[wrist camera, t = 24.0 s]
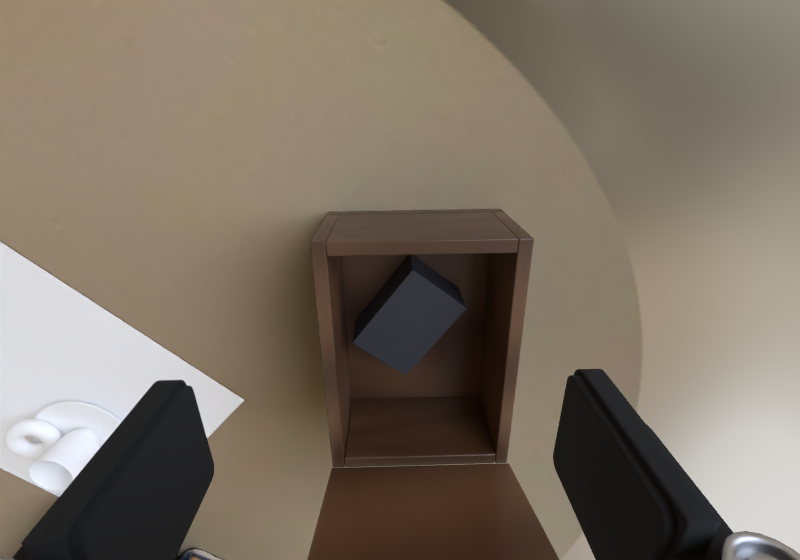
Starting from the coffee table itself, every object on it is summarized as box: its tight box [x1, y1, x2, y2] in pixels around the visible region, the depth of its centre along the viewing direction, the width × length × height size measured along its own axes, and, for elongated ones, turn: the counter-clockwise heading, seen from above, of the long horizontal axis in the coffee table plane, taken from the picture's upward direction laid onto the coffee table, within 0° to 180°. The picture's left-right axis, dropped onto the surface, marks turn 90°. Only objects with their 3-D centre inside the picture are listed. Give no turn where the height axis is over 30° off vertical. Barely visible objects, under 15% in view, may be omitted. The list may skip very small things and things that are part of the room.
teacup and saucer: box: [3, 400, 122, 492], centre depth 32 cm, size 9×8×4 cm
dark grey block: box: [352, 255, 467, 376], centre depth 28 cm, size 4×6×3 cm
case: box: [310, 209, 534, 467], centre depth 27 cm, size 16×12×7 cm
